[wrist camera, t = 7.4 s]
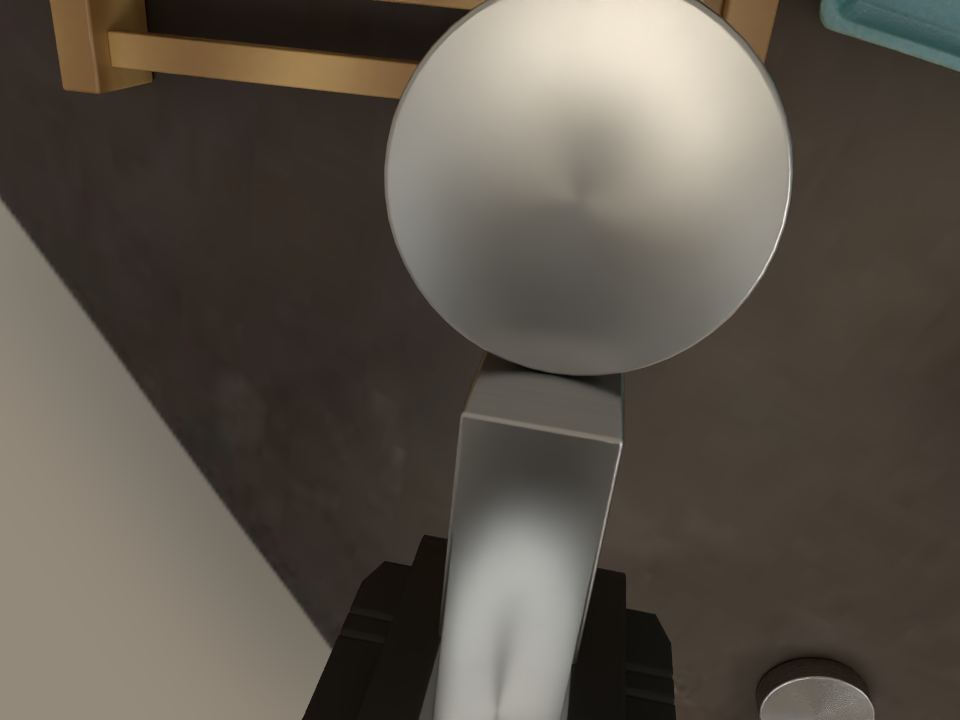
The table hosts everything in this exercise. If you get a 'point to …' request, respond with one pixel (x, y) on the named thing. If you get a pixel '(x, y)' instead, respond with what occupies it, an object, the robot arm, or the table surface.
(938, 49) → the teal serving tray
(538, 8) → the spoon
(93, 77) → the rack
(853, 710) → the spoon
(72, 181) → the table surface
